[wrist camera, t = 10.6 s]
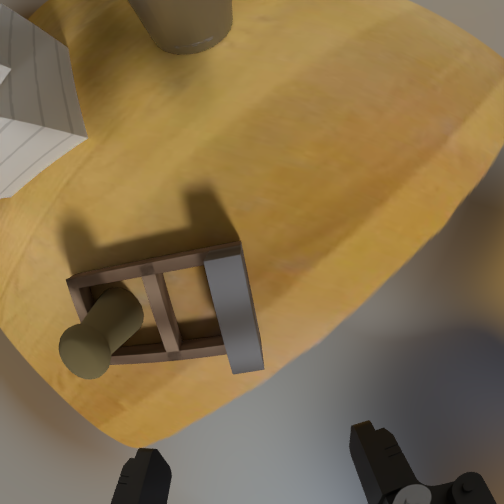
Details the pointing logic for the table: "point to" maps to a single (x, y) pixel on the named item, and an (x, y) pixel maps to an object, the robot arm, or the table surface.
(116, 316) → the cork
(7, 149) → the pizza boxes
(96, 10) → the table surface
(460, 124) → the table surface
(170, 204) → the table surface
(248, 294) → the divided wooden tray frame
